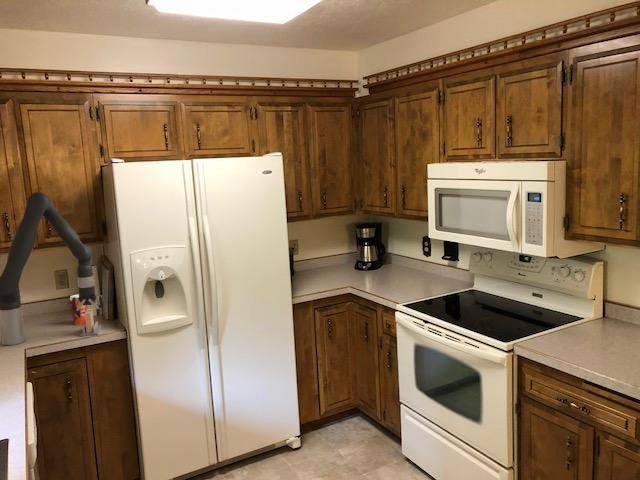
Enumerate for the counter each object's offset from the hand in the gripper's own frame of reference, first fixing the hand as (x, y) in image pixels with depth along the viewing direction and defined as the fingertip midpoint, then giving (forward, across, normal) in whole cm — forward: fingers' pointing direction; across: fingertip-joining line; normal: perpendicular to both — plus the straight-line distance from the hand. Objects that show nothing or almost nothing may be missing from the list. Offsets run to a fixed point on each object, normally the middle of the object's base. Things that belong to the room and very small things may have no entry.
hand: (89, 316), depth 268 cm
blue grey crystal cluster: (+8, 0, 0) cm, 8 cm away
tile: (+7, 0, 0) cm, 7 cm away
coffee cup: (+8, -8, +19) cm, 22 cm away
